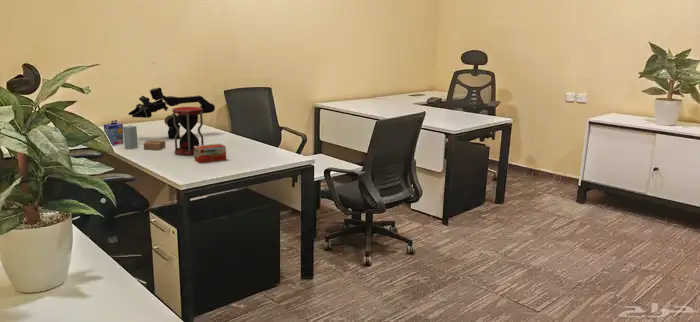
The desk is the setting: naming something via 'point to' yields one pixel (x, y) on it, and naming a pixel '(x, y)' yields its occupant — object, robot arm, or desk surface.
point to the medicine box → (209, 153)
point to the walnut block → (154, 145)
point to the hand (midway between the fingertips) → (130, 115)
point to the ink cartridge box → (114, 132)
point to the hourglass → (187, 129)
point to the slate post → (130, 137)
